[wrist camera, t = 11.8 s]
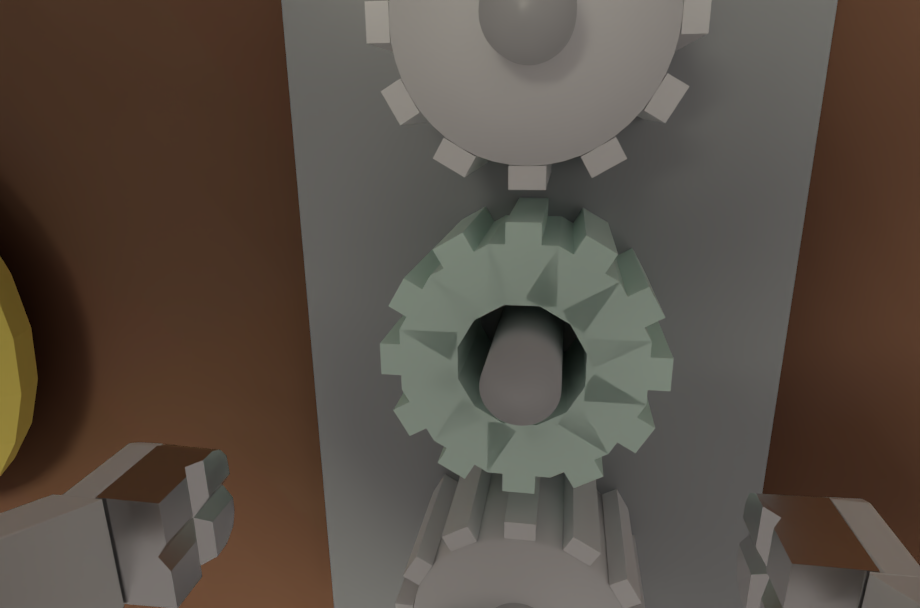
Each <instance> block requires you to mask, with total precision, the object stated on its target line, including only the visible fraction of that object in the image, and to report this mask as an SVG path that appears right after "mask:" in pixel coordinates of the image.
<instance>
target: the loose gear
mask: <svg viewBox="0 0 920 608" xmlns="http://www.w3.org/2000/svg"><path fill="white" fill-rule="evenodd" d="M503 305H520V306H540V307H542V308H544V309H545V310H547V311H549V312H550V313H552V314H554V315H555V316H557V317H559V318H560V319H562V320H564V321H565V322H567V323H569V324H570V325H571V327H572V328H573V330H574V332H575V334H576V335H577V338H576V339H575V340H574V342H573V343H572V345H571V346H570V348H569V349H568V351H566V352H563V359H562V388H561V397H560V401H559V403H558V406H557V407H556V409H555V410H554V412H553V413H552V414H551V415H550V416H549V417H547V418H546V419H544V420H543V421H541V422H538V423H536V424H532V425H525V426H519V425H512V424H509V423H506V422H503V421H501V420H500V419H498V418H496V417H495V416H494V415H493V414H491V413H490V411H489V410H488V409H487V408H486V406H485V405H484V403H483V401H482V399H481V396H480V391H479V381H480V377H481V374H482V371H483V368H484V365H485V362H486V359H487V356H488V353H489V350H490V347H491V344H492V343H491V341H490V340H489V338H488V336H487V334H486V333H485V331H484V329H483V328H482V326H481V317H482V316H484V315H485V314H487V313H489V312H491V311H493V310H495V309H497V308H499V307H501V306H503ZM389 307H391V308H392V309H394V310H396V311H397V312H399V313H401V314H402V315H403V316H402V317H401V318H400V319H399V320H398V322H397V323H396V324H395V325H394V327H393V328H392V329H391V330H390V332H389V333H388V334H387V335H386V336H385V338H384V339H383V340H382V341H381V343H380V357H381V374H389V375H401V383H402V391H403V394H402V396H401V398H400V399H399V401H398V403H397V404H396V406H395V408H394V409H393V411H394V412H395V414H396V415H397V417H398V418H399V420H400V422H401V423H402V425H403V426H404V428H405V429H406V431H407V433H408V434H409V436H411V435H413V434H415V433H417V432H420V431H422V430H424V429H427V430H428V432H429V433H430V435H431V437H432V438H433V440H434V441H436V442H437V443H439V444H441V445H442V446H444V447H443V450H442V452H441V455H440V458H439V460H438V463H439V464H440V465H442V466H444V467H446V468H447V469H449V470H451V471H452V472H454V473H456V474H457V475H459V476H461V477H462V478H464V479H465V478H466V476H467V475H468V474H469V472H470V471H471V469H472V468H473V466H474V465H476V466H478V467H479V468H481V469H483V470H484V471H486V472H489V473H501V474H503V479H502V491H507V492H519V493H530V494H534V493H535V482H536V477H548V478H551V477H553V476H556V475H558V474H561V473H563V472H564V473H565V475H566V476H567V478H568V480H569V481H570V483H571V485H572V486H573V488H576V487H578V486H581V485H583V484H586V483H588V482H591V481H594V480H596V479H599V478H601V477H604V476H603V465H602V456H605V455H607V454H609V453H610V451H611V450H612V449H613V447H614V446H615V445H616V444H617V443H619V444H621V445H622V446H624V447H626V448H627V449H629V450H631V451H632V452H634V453H636V452H637V451H638V449H639V448H640V447H641V446H642V444H643V443H644V442H645V441H646V439H647V438H648V437H649V436H650V434H651V433H652V432H653V431H654V429H655V425H654V421H653V417H652V414H651V410H650V406H649V402H648V398H647V392H648V390H655V391H671V381H672V371H673V361H674V358H673V356H672V353H671V351H670V349H669V346H668V344H667V341H666V339H665V336H664V334H663V331H662V329H661V327H660V324H659V322H658V321H660V320H662V319H664V318H665V315H664V313H663V311H662V309H661V307H660V304H659V302H658V300H657V298H656V295H655V293H654V291H653V289H652V287H651V284H650V282H649V280H648V278H647V276H646V273H645V271H644V269H643V267H642V266H641V264H640V262H639V260H638V258H637V256H636V254H635V252H634V250H633V248H631V249H629V250H627V251H625V252H623V253H621V254H619V255H618V252H617V249H616V246H615V243H614V240H613V237H612V234H611V230H610V227H609V224H608V222H606V221H605V220H603V219H601V218H600V217H598V216H596V215H595V214H593V213H591V212H590V211H588V210H586V209H585V208H583V209H582V210H581V212H580V213H579V215H578V216H577V218H576V219H575V221H574V223H572V222H571V221H569V220H567V219H566V218H564V217H562V216H548V198H519V199H518V201H517V203H516V205H515V206H514V208H513V210H512V211H511V213H510V215H505V216H504V217H502V218H500V219H498V220H496V221H495V222H494V220H493V218H492V217H491V215H490V213H489V211H488V209H487V208H486V206H485V207H483V208H482V209H480V210H478V211H476V212H475V213H473V214H471V215H469V216H467V217H466V218H464V219H462V220H461V221H460V222H459V223H458V224H457V225H456V226H455V227H454V228H453V229H452V230H451V231H450V232H449V233H448V234H447V235H446V236H445V237H444V238H443V239H442V240H441V241H440V242H439V243H438V244H437V245H436V246H435V247H434V248H433V249H432V250H431V251H430V252H429V253H428V254H427V255H426V256H425V257H424V258H423V259H422V260H421V261H420V262H419V263H418V264H417V265H416V266H415V267H414V268H413V269H412V270H411V271H410V272H409V273H408V274H407V275H406V276H405V277H404V279H403V280H402V282H401V284H400V286H399V288H398V289H397V291H396V293H395V295H394V297H393V298H392V300H391V302H390V304H389Z"/></svg>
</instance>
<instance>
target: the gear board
mask: <svg viewBox="0 0 920 608" xmlns="http://www.w3.org/2000/svg"><path fill="white" fill-rule="evenodd" d="M837 2H838V0H281V3H282V14H283V26H284V37H285V49H286V60H287V71H288V83H289V94H290V106H291V117H292V129H293V140H294V152H295V163H296V175H297V186H298V198H299V209H300V221H301V232H302V244H303V255H304V267H305V278H306V290H307V301H308V312H309V324H310V335H311V347H312V358H313V370H314V381H315V393H316V404H317V416H318V427H319V439H320V450H321V462H322V473H323V485H324V496H325V508H326V519H327V531H328V542H329V553H330V565H331V576H332V588H333V599H334V608H744V607H743V604H742V601H741V598H740V593H739V589H738V584H737V556H738V547H739V543H740V542H741V541H742V540H744V539H745V538H746V537H747V536H748V535H749V534H750V533H749V530H748V528H747V526H746V523H745V521H744V519H743V514H744V508H745V502H746V500H747V498H748V495H749V493H758V494H762V492H763V485H764V479H765V472H766V465H767V459H768V452H769V446H770V439H771V433H772V426H773V420H774V413H775V407H776V400H777V394H778V387H779V381H780V374H781V368H782V361H783V355H784V348H785V341H786V335H787V328H788V322H789V315H790V309H791V302H792V296H793V289H794V283H795V276H796V270H797V263H798V257H799V250H800V244H801V237H802V230H803V224H804V217H805V211H806V204H807V198H808V191H809V185H810V178H811V172H812V165H813V159H814V152H815V146H816V139H817V133H818V126H819V119H820V113H821V106H822V100H823V93H824V87H825V80H826V74H827V67H828V61H829V54H830V48H831V41H832V35H833V28H834V22H835V15H836V8H837ZM519 198H548V216H562V217H564V218H566V219H567V220H569V221H571V222H572V223H574V221H575V219H576V218H577V216H578V215H579V213H580V212H581V210H582V209H583V208H585V209H586V210H588V211H590V212H591V213H593V214H595V215H596V216H598V217H600V218H601V219H603V220H605V221H606V222H608V224H609V227H610V230H611V234H612V237H613V240H614V243H615V246H616V249H617V252H618V255H619V254H621V253H623V252H625V251H627V250H629V249H631V248H633V250H634V252H635V254H636V256H637V258H638V260H639V262H640V264H641V266H642V267H643V269H644V271H645V273H646V276H647V278H648V280H649V282H650V284H651V287H652V289H653V291H654V293H655V295H656V298H657V300H658V302H659V304H660V307H661V309H662V311H663V313H664V315H665V318H664V319H662V320H660V321H658V322H659V324H660V327H661V329H662V331H663V334H664V336H665V339H666V341H667V344H668V346H669V349H670V351H671V353H672V356H673V358H674V361H673V371H672V381H671V391H655V390H648V392H647V398H648V402H649V406H650V410H651V414H652V417H653V421H654V425H655V429H654V431H653V432H652V433H651V434H650V436H649V437H648V438H647V439H646V441H645V442H644V443H643V444H642V446H641V447H640V448H639V449H638V451H637V452H636V453H634V452H632V451H631V450H629V449H627V448H626V447H624V446H622V445H621V444H619V443H617V444H616V445H615V446H614V447H613V449H612V450H611V451H610V453H609V454H607V455H605V456H602V465H603V476H604V477H601V478H599V479H596V480H594V481H591V482H588V483H586V484H583V485H581V486H578V487H576V488H573V486H572V485H571V483H570V481H569V480H568V478H567V476H566V475H565V473H564V472H563V473H561V474H558V475H556V476H553V477H551V478H548V477H536V482H535V493H534V494H530V493H519V492H507V491H502V479H503V474H501V473H489V472H486V471H484V470H483V469H481V468H479V467H478V466H476V465H474V466H473V468H472V469H471V471H470V472H469V474H468V475H467V476H466V478H465V479H464V478H462V477H461V476H459V475H457V474H456V473H454V472H452V471H451V470H449V469H447V468H446V467H444V466H442V465H440V464H439V463H438V460H439V458H440V455H441V452H442V450H443V447H444V446H442V445H441V444H439V443H437V442H436V441H434V440H433V438H432V437H431V435H430V433H429V432H428V430H427V429H424V430H422V431H420V432H417V433H415V434H413V435H411V436H409V434H408V433H407V431H406V429H405V428H404V426H403V425H402V423H401V422H400V420H399V418H398V417H397V415H396V414H395V412H394V411H393V409H394V408H395V406H396V404H397V403H398V401H399V399H400V398H401V396H402V394H403V391H402V383H401V375H389V374H381V357H380V343H381V341H382V340H383V339H384V338H385V336H386V335H387V334H388V333H389V332H390V330H391V329H392V328H393V327H394V325H395V324H396V323H397V322H398V320H399V319H400V318H401V317H402V316H403V315H402V314H401V313H399V312H397V311H396V310H394V309H392V308H391V307H389V304H390V302H391V300H392V298H393V297H394V295H395V293H396V291H397V289H398V288H399V286H400V284H401V282H402V280H403V279H404V277H405V276H406V275H407V274H408V273H409V272H410V271H411V270H412V269H413V268H414V267H415V266H416V265H417V264H418V263H419V262H420V261H421V260H422V259H423V258H424V257H425V256H426V255H427V254H428V253H429V252H430V251H431V250H432V249H433V248H434V247H435V246H436V245H437V244H438V243H439V242H440V241H441V240H442V239H443V238H444V237H445V236H446V235H447V234H448V233H449V232H450V231H451V230H452V229H453V228H454V227H455V226H456V225H457V224H458V223H459V222H460V221H461V220H462V219H464V218H466V217H467V216H469V215H471V214H473V213H475V212H476V211H478V210H480V209H482V208H483V207H485V206H486V208H487V209H488V211H489V213H490V215H491V217H492V218H493V220H494V222H495V221H496V220H498V219H500V218H502V217H504V216H505V215H510V213H511V211H512V210H513V208H514V206H515V205H516V203H517V201H518V199H519ZM481 326H482V328H483V329H484V331H485V333H486V334H487V336H488V338H489V340H490V341H491V343H492V344H491V347H490V350H489V353H488V356H487V359H486V362H485V365H484V368H483V371H482V374H481V377H480V381H479V391H480V396H481V399H482V401H483V403H484V405H485V406H486V408H487V409H488V410H489V411H490V413H491V414H493V415H494V416H495V417H496V418H498V419H500V420H501V421H503V422H506V423H509V424H512V425H519V426H525V425H532V424H536V423H538V422H541V421H543V420H544V419H546V418H547V417H549V416H550V415H551V414H552V413H553V412H554V410H555V409H556V407H557V406H558V403H559V401H560V397H561V388H562V359H563V352H566V351H568V349H569V348H570V346H571V345H572V343H573V342H574V340H575V339H576V338H577V335H576V334H575V332H574V330H573V328H572V327H571V325H570V324H569V323H567V322H565V321H564V320H562V319H560V318H559V317H557V316H555V315H554V314H552V313H550V312H549V311H547V310H545V309H544V308H542V307H540V306H520V305H503V306H501V307H499V308H497V309H495V310H493V311H491V312H489V313H487V314H485V315H484V316H482V317H481Z"/></svg>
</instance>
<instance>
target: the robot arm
mask: <svg viewBox="0 0 920 608" xmlns="http://www.w3.org/2000/svg"><path fill="white" fill-rule="evenodd" d="M229 474H230V473H229V467H228V462H227V456H226V455H225V454H224V453H223V452H222V451H221V450H218V449H209V448H199V447H189V446H179V445H169V444H165V445H164V444H161V443H147V442H135V443H129V444H128V445H126V446H125V447H124V448H123V449H121V450H120V451H119V452H117V453H116V454H115V455H113V456H112V457H111V458H110V459H108V460H107V461H106V462H104V463H103V464H102V465H100V466H99V467H98V468H97V469H95V470H94V471H93V472H91V473H90V474H89V475H88V476H86V477H85V478H84V479H82V480H81V481H80V482H78V483H77V484H76V485H75V486H73V487H72V488H71V489H69V490H68V491H67V492H65V493H64V494H63V495H50V496H47V497H45V498H42V499H39V500H36V501H33V502H30V503H28V504H25V505H22V506H19V507H16V508H14V509H11V510H8V511H5V512H2V513H0V608H123V607H124V604H132V605H144V606H155V607H166V608H178V607H179V606H180V605H181V603H182V602H183V601H184V599H185V598H186V597H187V595H188V594H189V593H190V592H191V590H192V589H193V588H194V586H195V585H196V584H197V582H198V581H199V580H200V579H201V577H202V572H201V565H202V564H204V563H206V562H208V561H210V560H212V559H213V558H215V557H217V556H218V555H219V554H220V552H221V551H222V549H223V548H224V547H225V545H226V544H227V542H228V539H229V536H230V533H231V530H232V528H233V522H234V503H233V497H232V496H231V495H230V493H229V492H228V491H227V490H226V488H225V487H224V486H223V483H224V482H225V480H226V478H227V477H228V475H229ZM743 519H744V521H745V523H746V526H747V528H748V530H749V533H750V534H749V535H748V536H747V537H746V538H745V539H744V540H742V541H741V542H740V543H739V547H738V556H737V584H738V589H739V593H740V598H741V601H742V604H743V607H744V608H920V565H919V564H918V563H917V562H916V560H915V559H914V558H913V557H912V555H911V554H910V553H909V552H908V550H907V549H906V548H905V546H904V545H903V544H902V543H901V541H900V540H899V539H898V538H897V536H896V535H895V534H894V533H893V531H892V530H891V529H890V527H889V526H888V525H887V524H886V522H885V521H884V520H883V519H882V517H881V516H880V515H879V514H878V512H877V511H876V510H875V509H874V507H873V506H872V505H871V503H869V502H867V501H866V500H864V499H860V498H838V497H812V496H794V495H776V494H758V493H749V495H748V498H747V500H746V502H745V508H744V514H743Z"/></svg>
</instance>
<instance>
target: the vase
mask: <svg viewBox="0 0 920 608" xmlns="http://www.w3.org/2000/svg"><path fill="white" fill-rule="evenodd" d="M37 382H38V375H37V367H36V360H35V352H34V344H33V337H32V329H31V326H30V323H29V320H28V318H27V315H26V312H25V309H24V307H23V304H22V301H21V299H20V296H19V293H18V291H17V288H16V285H15V283H14V280H13V277H12V275H11V273H10V271H9V269H8V268H7V266H6V265H5V263H4V261H3V260H2V258H1V257H0V476H1V475H2V474H3V472H4V471H5V470H6V469H7V467H8V466H9V465H10V464H11V462H12V461H13V460H14V459H15V457H16V455H17V453H18V450H19V448H20V446H21V444H22V442H23V440H24V438H25V436H26V434H27V432H28V430H29V428H30V426H31V424H32V419H33V412H34V404H35V397H36V390H37Z"/></svg>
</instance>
